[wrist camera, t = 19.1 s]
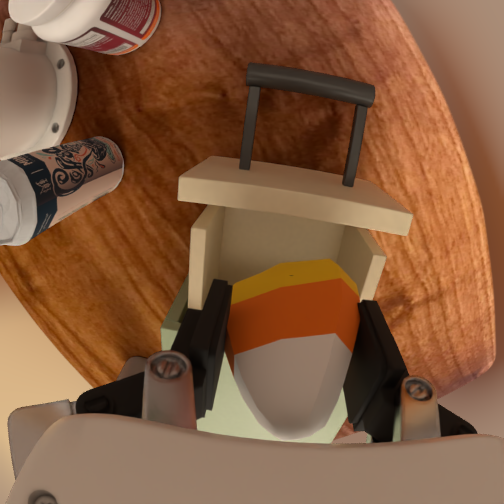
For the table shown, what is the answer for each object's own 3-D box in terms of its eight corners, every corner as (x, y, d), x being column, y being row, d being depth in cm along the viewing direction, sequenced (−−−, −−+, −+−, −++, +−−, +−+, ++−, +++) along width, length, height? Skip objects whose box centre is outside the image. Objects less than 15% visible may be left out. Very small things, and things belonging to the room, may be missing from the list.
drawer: (221, 69, 18) (192, 45, 11) (385, 98, 18) (438, 92, 11) (199, 315, 27) (176, 380, 20) (328, 333, 26) (341, 400, 19)
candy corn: (238, 325, 16) (212, 468, 8) (216, 275, 14) (168, 418, 7) (355, 297, 14) (401, 438, 7) (344, 242, 13) (404, 378, 6)
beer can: (135, 148, 22) (30, 184, 11) (116, 202, 24) (21, 268, 13) (88, 127, 21) (-24, 152, 10) (73, 179, 23) (-30, 230, 12)
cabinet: (197, 254, 25) (160, 327, 17) (350, 276, 25) (380, 355, 16) (193, 377, 31) (172, 450, 23) (309, 392, 31) (314, 467, 22)
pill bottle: (136, -23, 16) (61, -78, 6) (179, 16, 17) (110, -42, 7) (81, 29, 18) (-12, 6, 8) (119, 71, 19) (22, 57, 9)
